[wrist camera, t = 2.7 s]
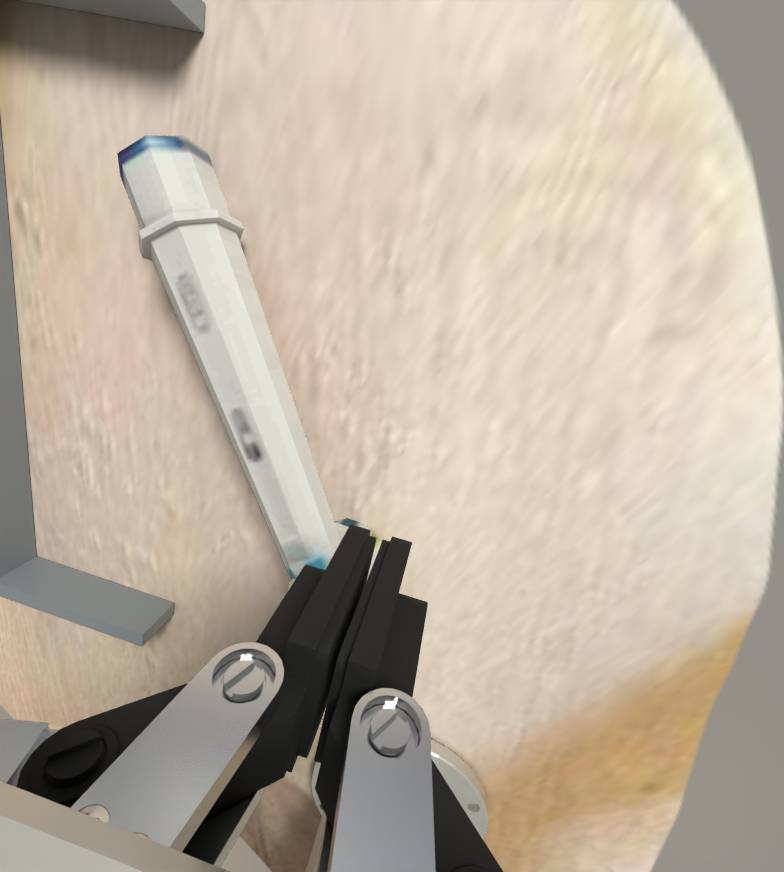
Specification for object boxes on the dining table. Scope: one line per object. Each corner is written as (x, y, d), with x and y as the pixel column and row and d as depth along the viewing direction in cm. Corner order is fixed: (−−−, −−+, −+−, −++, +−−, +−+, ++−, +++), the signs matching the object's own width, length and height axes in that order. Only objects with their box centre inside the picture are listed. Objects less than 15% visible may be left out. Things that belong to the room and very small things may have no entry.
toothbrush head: (174, 108, 17) (382, 682, 19) (264, 177, 23) (411, 601, 25) (78, 170, 18) (282, 696, 20) (188, 219, 24) (333, 615, 27)
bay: (173, 614, 30) (142, 646, 27) (25, 563, 31) (-19, 589, 29) (205, 4, 19) (156, -49, 16) (-32, -36, 20) (-116, -91, 17)
